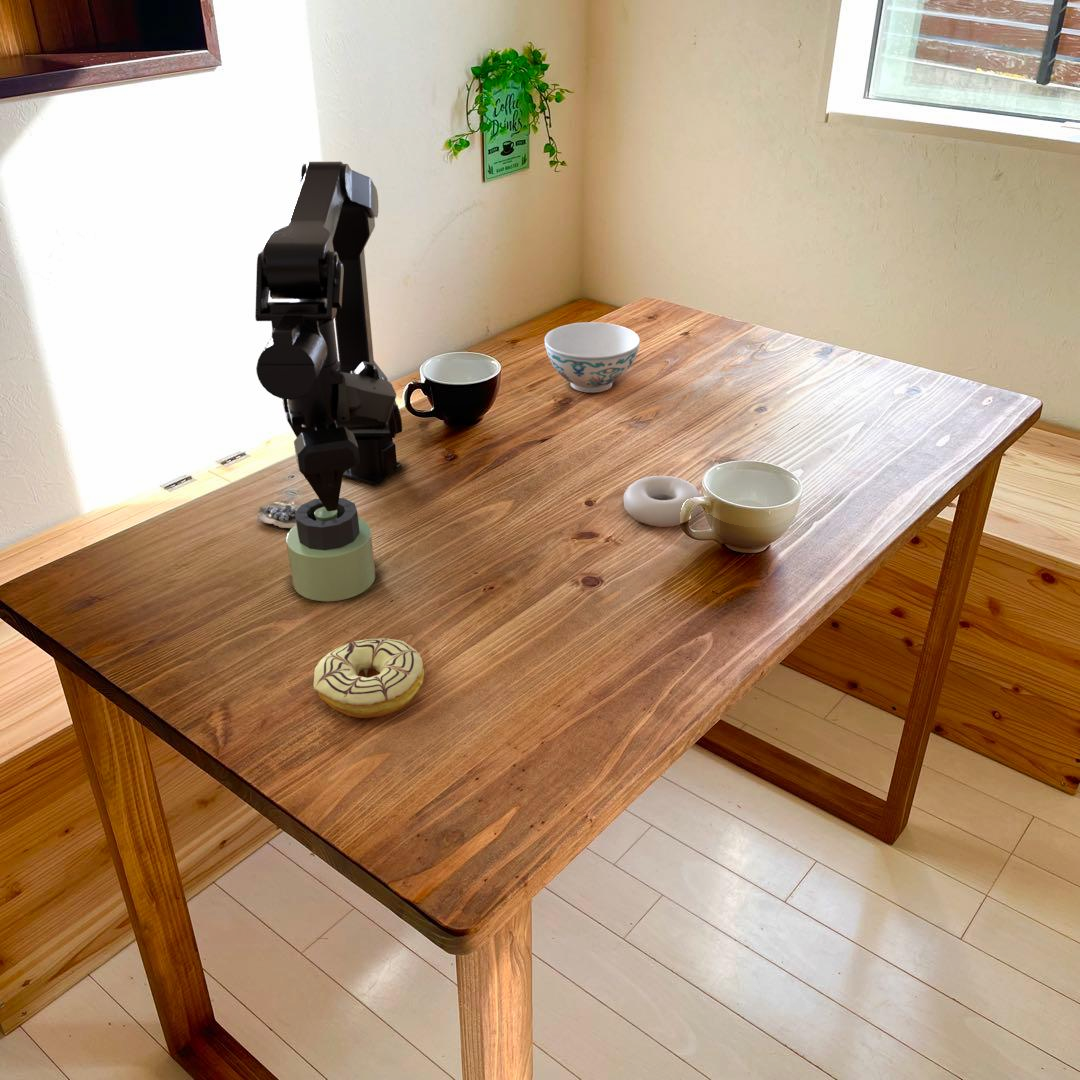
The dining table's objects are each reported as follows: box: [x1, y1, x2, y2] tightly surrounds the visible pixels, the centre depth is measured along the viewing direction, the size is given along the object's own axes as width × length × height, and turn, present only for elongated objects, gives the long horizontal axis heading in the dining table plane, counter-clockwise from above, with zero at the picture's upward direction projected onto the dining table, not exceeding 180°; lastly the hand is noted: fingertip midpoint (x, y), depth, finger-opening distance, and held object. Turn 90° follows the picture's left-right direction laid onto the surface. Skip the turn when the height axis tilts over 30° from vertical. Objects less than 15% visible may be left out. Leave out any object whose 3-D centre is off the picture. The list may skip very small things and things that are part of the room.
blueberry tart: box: [256, 500, 302, 530], centre depth 141 cm, size 7×8×2 cm
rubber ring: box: [295, 497, 360, 550], centre depth 126 cm, size 7×7×3 cm
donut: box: [622, 475, 702, 528], centre depth 141 cm, size 10×4×10 cm
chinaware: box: [543, 321, 641, 393], centre depth 175 cm, size 15×15×8 cm
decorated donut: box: [313, 637, 425, 719], centre depth 111 cm, size 10×11×4 cm
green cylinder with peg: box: [285, 507, 376, 602], centre depth 127 cm, size 10×10×9 cm
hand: (326, 490), depth 124 cm, fingers open, 9 cm apart
